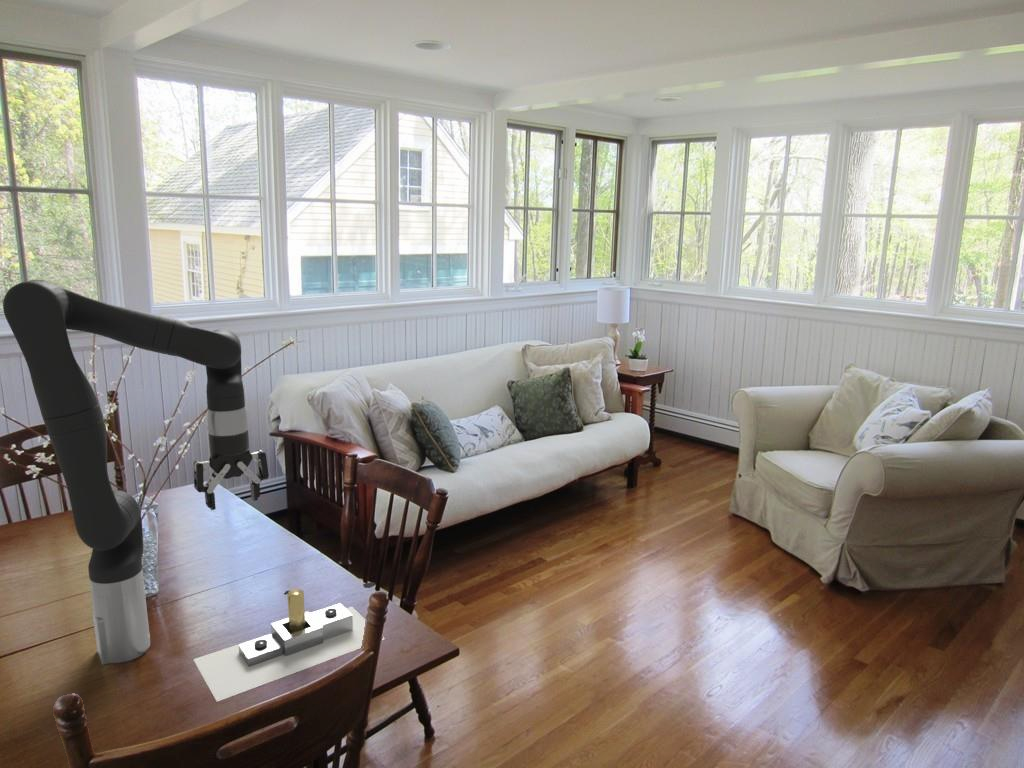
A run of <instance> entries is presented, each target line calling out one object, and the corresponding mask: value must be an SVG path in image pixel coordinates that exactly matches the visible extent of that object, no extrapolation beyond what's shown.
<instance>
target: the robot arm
mask: <svg viewBox="0 0 1024 768" xmlns="http://www.w3.org/2000/svg"><path fill="white" fill-rule="evenodd" d="M2 311H3V314H4V316H5V319H6V322H7V323H8V325H9V327H10V329H11V332H12V334H13V336H14V338H15V339H16V342H17V344H18V346H19V348H20V351H21V352H22V355H23V357H24V359H25V362H26V365H27V367H28V371H29V374H30V379H31V383H32V388H33V391H34V394H35V397H36V401H37V403H38V408H39V410H40V413H41V417H42V420H43V423H44V425H45V428H46V432H47V435H48V437H49V439H50V442H51V445H52V449H53V451H54V454H55V456H56V460H57V463H58V466H59V468H60V470H61V473H62V476H63V479H64V483H65V485H66V489H67V492H68V497H69V503H70V506H71V507H70V508H71V511H72V517H73V522H74V525H75V526H74V527H75V530H76V533H77V535H78V537H79V538H80V540H81V541H82V542H83V543H84V544H85V545H86V546H87V547H89V548H91V549H92V550H91V551H92V552H91V554H90V555H91V556H90V558H89V561H88V567H87V568H88V569H87V570H88V577H89V586H90V592H91V601H92V608H91V609H92V610H91V611H92V613H91V614H92V620H93V628H94V634H95V635H94V636H95V642H96V643H95V644H96V652H97V655H98V657H99V660H100V662H101V665H102V666H104V665H108V664H120V663H125V662H129V661H133V660H135V659H137V658H139V657H141V656H143V655H144V654H145V653H146V651H147V650H148V649H150V647H151V633H150V628H149V627H150V626H149V625H150V624H149V617H148V610H147V609H148V608H147V601H146V592H145V591H146V590H145V589H146V588H145V582H144V580H145V579H144V572H143V560H142V559H143V553H144V535H143V532H144V531H143V522H142V521H143V520H142V519H143V518H142V513H141V509H140V505H139V503H138V501H137V500H136V499H135V498H134V497H133V496H132V495H131V494H130V493H128V492H126V491H123V490H119V489H117V490H116V489H113V488H112V485H111V481H110V478H109V477H110V476H109V473H108V471H109V470H108V433H107V427H106V422H105V418H104V415H103V412H102V409H101V407H100V403H99V401H98V398H97V396H96V392H95V390H94V389H93V387H92V384H91V383H90V381H89V379H88V378H87V376H86V375H85V373H84V371H83V370H82V369H81V367H80V365H79V364H78V362H77V360H76V358H75V356H74V352H73V350H72V347H71V343H70V339H69V335H68V332H67V330H69V331H70V330H71V331H79V332H84V333H88V334H89V333H90V334H94V335H98V336H101V337H105V338H109V339H111V340H114V341H117V342H119V343H123V344H125V345H128V346H131V347H134V348H138V349H140V350H146V351H148V352H153V353H158V354H162V355H166V356H173V357H178V358H182V359H184V360H186V361H190V362H192V363H195V364H198V365H202V366H205V371H206V379H207V380H206V381H207V382H206V389H205V390H206V391H205V393H206V405H207V419H206V420H207V425H206V428H207V429H206V430H207V431H208V445H209V459H208V460H205V461H199V460H194V461H193V488H194V489H195V490H196V491H197V492H198V493H204V499H205V505H206V507H208V508H209V509H210V511H214V510H215V511H216V498H215V492H214V491H215V489H216V487H217V486H218V485H220V483H221V482H222V480H223V479H225V480H228V479H231V478H233V477H234V478H236V477H237V478H239V477H242V475H244V474H245V475H246V476H247V478H249V479H250V480H251V481H250V482H249V483H250V484H249V486H250V498H251V500H252V501H254V502H257V501H258V500H259V498H260V496H261V487H260V486H261V485H260V483H261V482H262V481H264V480H268V478H269V468H268V467H269V466H268V461H267V454H266V452H264V450H262V449H259V448H258V449H257V450H256V451H253V452H251V451H250V441H249V440H250V438H249V424H248V423H249V421H248V413H247V410H246V398H245V397H246V396H245V389H244V388H245V387H244V383H243V378H242V345H241V340H240V339H239V337H238V336H237V334H236V333H234V332H233V331H231V330H229V329H225V328H217V329H214V330H208V329H204V328H201V327H195V326H193V325H192V324H190V323H188V322H187V321H184V320H181V319H176V318H171V317H169V316H164V315H160V314H155V313H151V312H147V311H141V310H138V309H132V308H129V307H123V306H119V305H115V304H112V303H106V302H103V301H100V300H97V299H94V298H91V297H87V296H85V295H82V294H80V293H77V292H75V291H73V290H71V289H67V288H65V287H63V286H60V285H57V284H56V283H54V282H52V281H50V280H49V281H48V280H44V279H31V280H27V281H22V282H19V283H16V284H14V285H13V286H12V287H10V288H9V290H8V291H7V292H6V294H5V295H4V298H3V301H2ZM253 460H254V461H255V462H256V463H257V468H258V473H256V474H255V473H254V472H253V471H252V470H251V469H250V468H249V465H250V464H251V462H252V461H253ZM209 467H210V468H211V469H212V471H211V473H210V475H209V477H208V479H207V481H206V483H205V484H204V482H205V480H204V478H205V477H204V473H206V472H207V469H208V468H209Z"/></svg>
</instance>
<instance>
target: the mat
mask: <svg viewBox="0 0 1024 768" xmlns="http://www.w3.org/2000/svg"><path fill="white" fill-rule="evenodd" d="M345 608H346V609H347V610H348V611H349V612H350V613H351V614H352V618H353V630H352V631H349V632H346V633H344V634H341V635H338V636H335V637H332V638H329V639H327V640H324V641H323V643H322V644H319V645H316V646H314V647H311V648H308V649H305V650H302V651H299V652H297V653H294V654H291V655H288V656H285V655H281V656H279V657H276V658H273V659H270V660H267V661H265V662H262V663H259V664H256V665H253V666H250V667H248V665H247V664H246V662H245V661H244V659H243V658H242V656H241V655H240V653H239V646H238V645H239V644H242V643H245V642H248V641H251V640H254V639H257V638H260V637H263V636H266V635H269V634H272V632H271V633H268V634H265V635H263V636H262V635H261V636H259V637H256V638H253V639H250V640H246V641H244V642H241V643H237V644H235V645H233V646H229V647H226V648H223V649H220V650H217V651H215V652H211V653H208V654H205V655H202V656H200V657H196V658H194V659H193V660H192V661H193V663H194V664H195V665H196V668H197V669H198V671H199V673H200V674H201V676H202V678H203V680H204V681H205V683H206V685H207V687H208V688H209V691H210V692H211V694H212V695H213V698H214V699H215V702H216V703H218V702H221V701H223V700H226V699H228V698H231V697H234V696H237V695H240V694H242V693H244V692H247V691H250V690H253V689H255V688H258V687H260V686H263V685H267V684H269V683H272V682H274V681H277V680H280V679H281V678H282V679H283V678H285V677H288V676H290V675H293V674H295V673H298V672H301V671H304V670H306V669H310V668H312V667H315V666H318V665H319V664H322V663H325V662H328V661H332V660H333V659H336V658H338V657H341V656H344V655H347V654H349V653H352V652H354V651H357V649H358V650H360V649H362V648H361V646H362V640H363V635H364V627H365V620H366V619H365V617H363V616H362V615H361V614H360V613H359V612H358V611H357V610H356V609H355V608H354V607H353V606H349V607H345ZM384 640H386V638H385V637H384V636H383V639H382V641H384Z"/></svg>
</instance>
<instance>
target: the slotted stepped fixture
mask: <svg viewBox="0 0 1024 768" xmlns="http://www.w3.org/2000/svg"><path fill="white" fill-rule="evenodd" d="M346 608H347V607H345V606H344V605H343V604H342V603H341V602H339V603H336V604H333V605H331V606H326V607H325V608H321V609H318V610H315V611H312V612H310V611H305V629H304V630H301V631H298V632H295V633H292V634H290V633H289V617H287V618H283V619H281V620H278V621H274V622H271V623H270V628H271V629H270V631H271V633H272V634H271V633H268V634H269V635H268V634H265V635H266V636H265V635H263V637H262V636H259V637H260V638H259V637H256V638H257V639H256V638H253V639H254V640H253V639H250V640H251V641H250V640H247V641H248V642H247V641H244V642H245V643H244V642H241V643H242V644H241V643H238V644H239V645H238V644H237V645H238V646H239V653H240V655H241V656H242V658H243V659H244V661H245V662H246V664H247V665H248V667H250V666H253V665H256V664H259V663H262V662H265V661H267V660H270V659H273V658H276V657H279V656H281V655H285V656H288V655H291V654H294V653H297V652H299V651H302V650H305V649H308V648H311V647H314V646H316V645H319V644H322V643H323V641H324V640H327V639H329V638H332V637H335V636H338V635H341V634H344V633H346V632H349V631H352V630H353V618H352V614H351V613H350V612H349V611H348V610H347V609H346Z"/></svg>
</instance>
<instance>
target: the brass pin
mask: <svg viewBox="0 0 1024 768" xmlns="http://www.w3.org/2000/svg"><path fill="white" fill-rule="evenodd" d="M288 591H289V592H288V594H286V595H287V609H288V610H287V612H288V614H287V615H288V618H289V633H290V634H292V633H295V632H298V631H301V630H304V629H305V612H306V611H305V610H306V609H305V592H304V590H303V589H300V588H299V589H298V588H295V589H291V591H290V590H288Z"/></svg>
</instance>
